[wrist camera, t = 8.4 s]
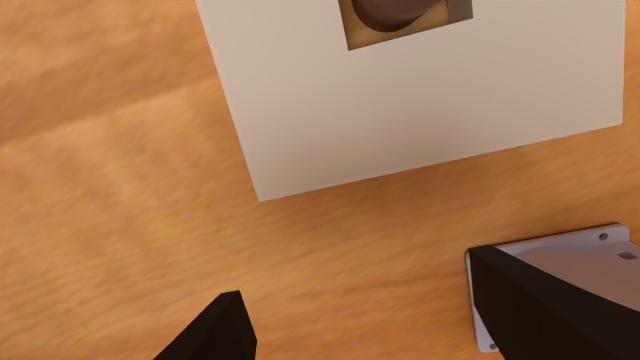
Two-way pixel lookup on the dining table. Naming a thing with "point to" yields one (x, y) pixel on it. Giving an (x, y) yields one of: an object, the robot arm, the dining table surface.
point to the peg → (390, 12)
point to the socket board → (409, 85)
